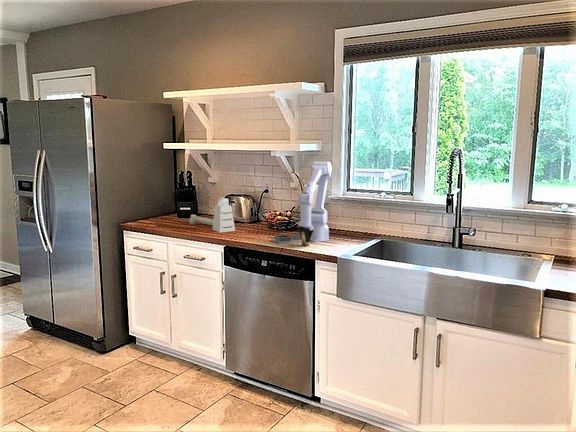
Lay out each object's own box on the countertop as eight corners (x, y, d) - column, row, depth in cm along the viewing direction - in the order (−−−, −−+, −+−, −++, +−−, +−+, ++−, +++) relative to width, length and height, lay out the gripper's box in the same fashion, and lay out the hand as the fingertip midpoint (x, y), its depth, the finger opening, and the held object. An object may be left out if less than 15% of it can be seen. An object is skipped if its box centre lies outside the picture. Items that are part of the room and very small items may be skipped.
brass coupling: (307, 243, 259) (307, 230, 257) (311, 245, 254) (311, 232, 253) (299, 244, 257) (299, 231, 256) (303, 246, 253) (303, 233, 251)
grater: (227, 228, 306) (226, 197, 302) (235, 230, 297) (234, 198, 294) (212, 229, 300) (211, 198, 297) (219, 232, 291) (219, 199, 288)
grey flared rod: (216, 221, 308) (187, 213, 320) (215, 231, 309) (186, 222, 322) (221, 220, 312) (193, 212, 324) (220, 230, 314) (192, 221, 326)
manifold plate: (300, 238, 275) (300, 233, 274) (307, 241, 267) (307, 235, 266) (271, 240, 267) (271, 235, 267) (277, 243, 259) (277, 238, 259)
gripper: (293, 214, 258) (293, 239, 260) (305, 218, 245) (304, 244, 247) (304, 213, 261) (304, 238, 263) (317, 217, 248) (317, 243, 250)
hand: (305, 241), depth 255 cm, fingers closed on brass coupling, 4 cm apart
